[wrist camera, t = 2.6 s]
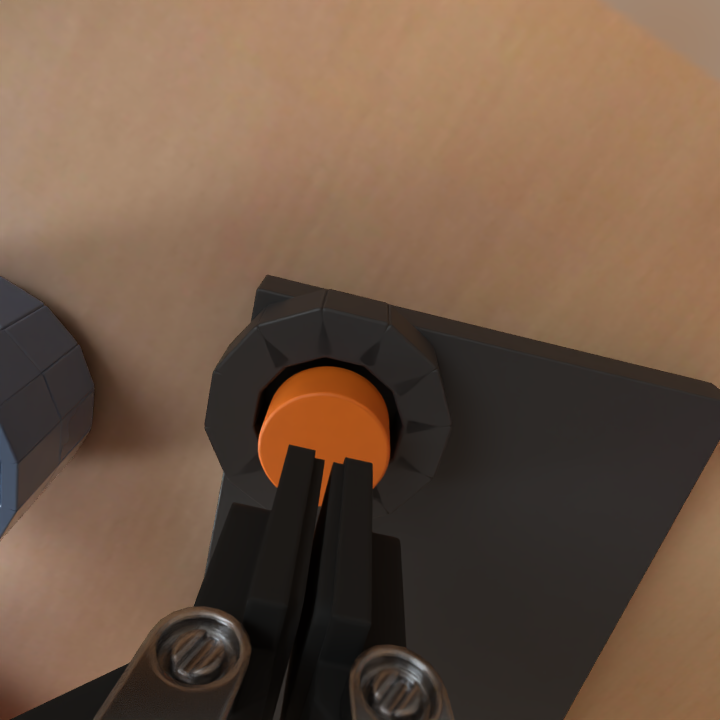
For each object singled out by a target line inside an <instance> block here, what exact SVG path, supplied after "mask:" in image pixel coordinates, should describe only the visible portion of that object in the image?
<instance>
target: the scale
mask: <svg viewBox="0 0 720 720" xmlns="http://www.w3.org/2000/svg"><path fill="white" fill-rule="evenodd" d="M320 366H334V367H340V368H344V369H348V370H351V371H353V372H355V373H357V374H359V375H361V376H363V377H364V378H366V379H367V380H368V381H369V382H371V383H372V384H373V385H374V386H375V387H376V388H377V390H378V391H379V392H380V394H381V395H382V397H383V399H384V401H385V403H386V406H387V409H388V414H389V429H390V459H389V464H388V467H387V470H386V472H385V474H384V476H383V477H382V479H381V480H380V482H379V483H378V484H377V485H376V486H375V487H374V488H373V507H372V532H373V533H378V534H383V535H387V536H392V537H396V538H399V540H400V544H401V559H402V577H403V595H404V613H405V631H406V648H407V649H409V650H411V651H413V652H415V653H417V654H419V655H420V656H422V657H423V658H424V659H425V660H426V661H428V662H429V663H430V664H431V665H432V666H433V667H434V669H435V670H436V671H437V673H438V674H439V675H440V676H441V679H442V681H443V683H444V686H445V688H446V690H447V694H448V698H449V701H450V705H451V709H452V712H453V716H454V720H563V719H564V717H565V716H566V714H567V712H568V710H569V709H570V707H571V705H572V703H573V701H574V700H575V698H576V696H577V694H578V692H579V691H580V689H581V687H582V685H583V683H584V682H585V680H586V678H587V676H588V675H589V673H590V671H591V669H592V667H593V666H594V664H595V662H596V660H597V658H598V657H599V655H600V653H601V651H602V650H603V648H604V646H605V644H606V642H607V641H608V639H609V637H610V635H611V633H612V632H613V630H614V628H615V626H616V624H617V623H618V621H619V619H620V617H621V616H622V614H623V612H624V610H625V608H626V607H627V605H628V603H629V601H630V599H631V598H632V596H633V594H634V592H635V590H636V589H637V587H638V585H639V583H640V582H641V580H642V578H643V576H644V574H645V573H646V571H647V569H648V567H649V565H650V564H651V562H652V560H653V558H654V557H655V555H656V553H657V551H658V549H659V548H660V546H661V544H662V542H663V540H664V539H665V537H666V535H667V533H668V531H669V530H670V528H671V526H672V524H673V523H674V521H675V519H676V517H677V515H678V514H679V512H680V510H681V508H682V506H683V505H684V503H685V501H686V499H687V498H688V496H689V494H690V492H691V490H692V489H693V487H694V485H695V483H696V481H697V480H698V478H699V476H700V474H701V472H702V471H703V469H704V467H705V465H706V464H707V462H708V460H709V458H710V456H711V455H712V453H713V451H714V449H715V447H716V446H717V444H718V442H719V440H720V389H718V388H717V387H716V386H715V385H713V384H712V383H709V382H705V381H701V380H697V379H692V378H688V377H684V376H680V375H676V374H672V373H668V372H664V371H660V370H656V369H651V368H647V367H643V366H639V365H635V364H631V363H627V362H623V361H619V360H615V359H610V358H606V357H602V356H598V355H594V354H590V353H586V352H582V351H578V350H574V349H569V348H565V347H561V346H557V345H553V344H549V343H545V342H541V341H537V340H533V339H529V338H524V337H520V336H516V335H512V334H508V333H504V332H500V331H496V330H492V329H488V328H483V327H479V326H475V325H471V324H467V323H463V322H459V321H455V320H451V319H447V318H442V317H438V316H434V315H430V314H426V313H422V312H418V311H414V310H410V309H406V308H401V307H397V306H393V305H389V304H387V303H385V302H381V301H377V300H373V299H369V298H365V297H360V296H356V295H352V294H348V293H344V292H340V291H336V290H332V289H329V290H328V289H324V288H320V287H315V286H311V285H307V284H303V283H299V282H295V281H291V280H287V279H283V278H279V277H274V276H270V275H266V277H265V278H264V280H263V281H262V283H261V284H260V286H259V287H258V289H257V291H256V296H255V302H254V307H253V313H252V318H251V323H250V324H249V325H248V326H247V327H246V328H245V329H244V330H243V331H242V332H241V333H240V334H239V335H238V336H237V337H236V339H235V340H234V341H233V342H232V343H231V344H230V345H229V347H228V348H227V350H226V351H225V353H224V355H223V356H222V358H221V359H220V361H219V363H218V364H217V366H216V368H215V369H214V371H213V374H212V380H211V387H210V393H209V399H208V405H207V411H206V417H205V431H206V433H207V435H208V437H209V440H210V442H211V444H212V446H213V449H214V451H215V453H216V455H217V458H218V460H219V462H220V464H221V467H222V469H223V477H222V482H221V488H220V493H219V499H218V504H217V510H216V515H215V521H214V526H213V532H212V537H211V542H210V548H209V553H208V559H207V564H206V570H205V574H206V572H207V569H208V566H209V564H210V561H211V558H212V556H213V553H214V550H215V547H216V545H217V542H218V539H219V537H220V534H221V531H222V529H223V526H224V523H225V521H226V518H227V515H228V513H229V510H230V508H231V505H232V503H233V502H235V503H240V504H244V505H249V506H254V507H258V508H263V509H267V510H272V506H273V502H274V499H275V495H276V491H277V487H276V486H275V485H274V484H273V483H272V482H271V481H270V479H269V478H268V477H267V475H266V473H265V471H264V469H263V467H262V465H261V462H260V459H259V454H258V439H259V434H260V430H261V427H262V425H263V422H264V419H265V416H266V414H267V411H268V408H269V405H270V403H271V400H272V398H273V396H274V394H275V393H276V391H277V389H278V388H279V387H280V386H281V385H282V384H283V383H284V382H285V381H286V380H287V379H288V378H290V377H291V376H293V375H294V374H296V373H298V372H301V371H303V370H306V369H309V368H314V367H320ZM320 509H321V506H318V510H317V517H316V524H317V520H318V516H319V513H320ZM316 524H315V528H316ZM314 531H315V530H314ZM204 577H205V575H204ZM288 663H289V662H288ZM287 669H288V665H287ZM287 669H286V672H285V676H284V680H283V683H282V687H281V691H280V694H279V698H278V702H277V705H276V709H275V713H274V716H273V720H279V719H280V713H281V707H282V701H283V694H284V688H285V682H286V676H287Z"/></svg>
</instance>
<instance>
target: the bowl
mask: <svg viewBox="0 0 720 720" xmlns="http://www.w3.org/2000/svg"><path fill="white" fill-rule="evenodd" d="M94 392H95V389H94V383H93V380H92V377H91V375H90V372H89V369H88V366H87V364H86V361H85V358H84V355H83V352H82V350H81V347H80V345H78V343H77V341H76V340H75V339H74V337H73V336H72V335H71V334H70V333H69V331H68V330H67V329H66V328H65V327H64V325H63V324H62V323H61V322H60V321H59V319H58V318H57V317H56V316H55V315H54V313H53V312H52V311H51V310H50V309H49V307H48V306H46V305H45V306H44V303H43V302H42V301H40V300H39V299H37V298H35V297H34V296H32V295H31V294H29V293H27V292H26V291H24V290H23V289H21V288H19V287H18V286H16V285H15V284H13V283H11V282H10V281H8V280H7V279H5V278H3V277H1V276H0V541H1V540H2V539H3V537H4V536H5V535H6V534H7V533H8V532H9V531H10V529H11V528H12V527H13V526H14V525H15V524H16V523H17V521H18V520H19V519H20V518H21V517H22V516H23V515H24V513H25V512H26V511H27V510H28V509H29V508H30V507H31V505H32V504H33V503H34V502H35V501H36V500H37V499H38V497H39V496H40V495H41V494H42V493H43V492H44V490H45V489H46V488H47V487H48V486H49V485H50V484H51V482H52V481H53V480H54V479H55V478H56V477H57V476H58V474H59V473H60V472H61V471H62V470H63V469H64V468H65V466H66V465H67V464H68V463H69V462H70V461H71V460H72V458H73V457H74V455H75V454H76V452H77V451H78V449H79V448H80V446H81V444H82V443H83V441H84V440H85V438H86V437H87V435H88V433H89V432H90V430H91V427H92V418H93V405H94Z"/></svg>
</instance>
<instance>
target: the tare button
mask: <svg viewBox="0 0 720 720" xmlns="http://www.w3.org/2000/svg"><path fill="white" fill-rule="evenodd" d="M289 444H290V445H294V446H299V447H303V448H308V449H312V450H316V453H315V458H318V459H323V460H325V464H324V470H323V477H322V484H321V490H320V497H319V504H318V506H321V505H322V501H323V498H324V494H325V490H326V486H327V483H328V479H329V475H330V471H331V468H332V464H333V462H336V463H341V464H343V462H344V459H345V457H348V458H352V459H356V460H361V461H365V462H370V463H372V464H373V488H374V487H375V486H376V485H377V484H378V483H379V482H380V480H381V479H382V477H383V476H384V474H385V472H386V470H387V467H388V464H389V459H390V429H389V414H388V409H387V406H386V403H385V401H384V399H383V397H382V395H381V394H380V392H379V391H378V390H377V388H376V387H375V386H374V385H373V384H372V383H371V382H369V381H368V380H367V379H366V378H364V377H363V376H361V375H359V374H357V373H355V372H353V371H351V370H348V369H344V368H340V367H334V366H320V367H314V368H309V369H306V370H303V371H301V372H298V373H296V374H294V375H293V376H291V377H290V378H288V379H287V380H286V381H285V382H284V383H283V384H282V385H281V386H280V387H279V388H278V389H277V391H276V393H275V394H274V396H273V398H272V400H271V403H270V405H269V408H268V411H267V414H266V416H265V419H264V422H263V425H262V427H261V430H260V434H259V439H258V454H259V459H260V462H261V465H262V467H263V469H264V471H265V473H266V475H267V477H268V478H269V479H270V481H271V482H272V483H273V484H274V485H275V486H276V487H278V484H279V480H280V476H281V472H282V469H283V465H284V461H285V457H286V454H287V450H288V446H289Z"/></svg>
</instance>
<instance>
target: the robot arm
mask: <svg viewBox="0 0 720 720" xmlns="http://www.w3.org/2000/svg"><path fill="white" fill-rule="evenodd" d="M315 453H316V450H312V449H308V448H303V447H299V446H294V445H290V444H289V446H288V450H287V454H286V457H285V461H284V465H283V469H282V472H281V476H280V480H279V484H278V487H277V491H276V495H275V499H274V502H273V506H272V510H267V509H263V508H258V507H254V506H249V505H244V504H240V503H235V502H233V503H232V505H231V508H230V510H229V513H228V515H227V518H226V521H225V523H224V526H223V529H222V531H221V534H220V537H219V539H218V542H217V545H216V547H215V550H214V553H213V556H212V558H211V561H210V564H209V566H208V569H207V572H206V574H205V577H204V580H203V582H202V585H201V588H200V590H199V593H198V596H197V598H196V601H195V604H194V606H193V607H188V608H185V609H181V610H178V611H175V612H173V613H171V614H169V615H168V616H166V617H164V618H163V619H161V620H160V621H159V622H158V623H157V624H156V625H155V626H154V628H153V629H152V630H151V631H150V632H149V634H148V635H147V637H146V639H145V640H144V642H143V643H142V645H141V646H140V648H139V649H138V651H137V652H136V654H135V655H134V657H133V659H132V660H131V662H130V663H128V664H126V665H124V666H122V667H120V668H118V669H116V670H113V671H111V672H109V673H107V674H105V675H103V676H101V677H99V678H97V679H95V680H92V681H90V682H88V683H86V684H84V685H82V686H80V687H78V688H76V689H73V690H71V691H69V692H67V693H65V694H63V695H61V696H59V697H57V698H55V699H52V700H50V701H48V702H46V703H44V704H42V705H40V706H38V707H36V708H34V709H31V710H29V711H27V712H25V713H23V714H21V715H19V716H17V717H15V718H12V719H10V720H273V716H274V713H275V709H276V705H277V702H278V698H279V694H280V691H281V687H282V683H283V680H284V676H285V672H286V669H287V665H288V669H287V676H286V682H285V688H284V694H283V701H282V707H281V713H280V719H279V720H454V716H453V712H452V709H451V705H450V701H449V698H448V694H447V690H446V688H445V686H444V683H443V681H442V679H441V676H440V675H439V674H438V673H437V671H436V670H435V669H434V667H433V666H432V665H431V664H430V663H429V662H428V661H426V660H425V659H424V658H423V657H422V656H420V655H419V654H417V653H415V652H413V651H411V650H409V649H407V648H406V631H405V613H404V595H403V577H402V559H401V544H400V540H399V538H396V537H392V536H387V535H383V534H378V533H373V532H372V507H373V464H372V463H370V462H365V461H361V460H356V459H352V458H348V457H345V459H344V462H343V464H341V463H336V462H333V464H332V468H331V471H330V475H329V479H328V483H327V486H326V490H325V494H324V498H323V501H322V505H321V509H320V513H319V516H318V520H317V524H316V517H317V510H318V504H319V497H320V490H321V484H322V477H323V470H324V464H325V460H323V459H318V458H315ZM315 524H316V528H315ZM314 530H315V531H314ZM288 662H289V663H288Z"/></svg>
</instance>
